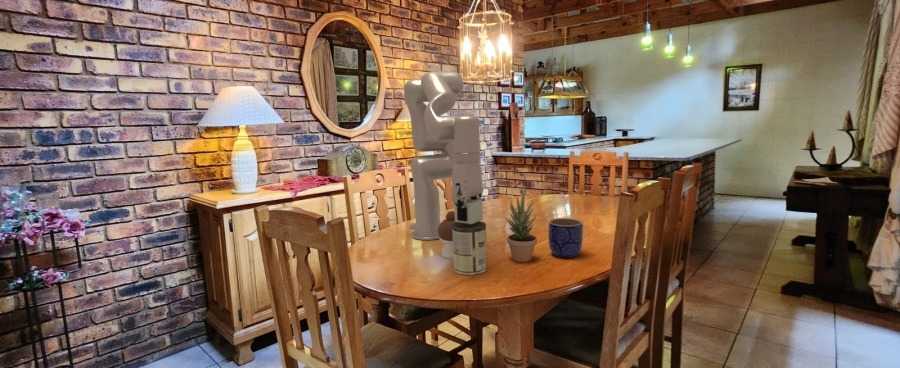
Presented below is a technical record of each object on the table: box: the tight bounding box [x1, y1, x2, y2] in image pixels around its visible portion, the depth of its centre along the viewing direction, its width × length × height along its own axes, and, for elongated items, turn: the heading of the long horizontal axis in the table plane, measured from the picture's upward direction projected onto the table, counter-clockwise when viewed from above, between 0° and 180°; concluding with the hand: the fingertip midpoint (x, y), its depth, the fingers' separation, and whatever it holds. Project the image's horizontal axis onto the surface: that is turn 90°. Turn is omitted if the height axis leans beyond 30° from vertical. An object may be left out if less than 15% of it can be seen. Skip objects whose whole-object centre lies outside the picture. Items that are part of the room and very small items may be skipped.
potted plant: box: [505, 183, 538, 263], centre depth 145 cm, size 10×10×25 cm
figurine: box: [438, 210, 456, 260], centre depth 152 cm, size 10×9×15 cm
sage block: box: [453, 198, 484, 224], centre depth 136 cm, size 6×6×6 cm
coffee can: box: [452, 220, 488, 276], centre depth 137 cm, size 10×10×14 cm
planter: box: [547, 217, 584, 259], centre depth 149 cm, size 11×11×11 cm
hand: (468, 217), depth 136 cm, fingers closed on sage block, 5 cm apart
